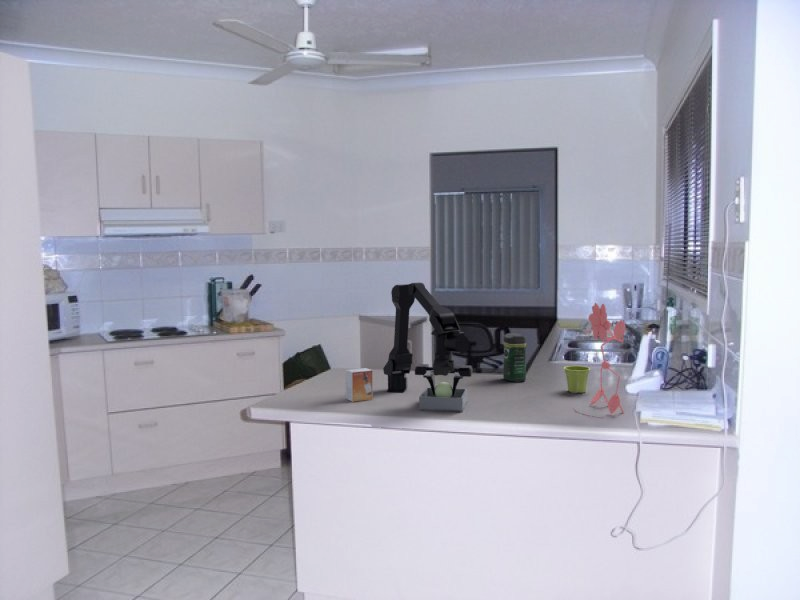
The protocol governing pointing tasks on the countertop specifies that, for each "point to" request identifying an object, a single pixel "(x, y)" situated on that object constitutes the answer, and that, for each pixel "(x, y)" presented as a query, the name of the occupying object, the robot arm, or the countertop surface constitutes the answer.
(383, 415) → the countertop surface
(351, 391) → the small box
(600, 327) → the figurine
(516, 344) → the coffee jar
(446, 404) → the bin
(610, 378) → the countertop surface
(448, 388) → the ball
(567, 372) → the plant pot
